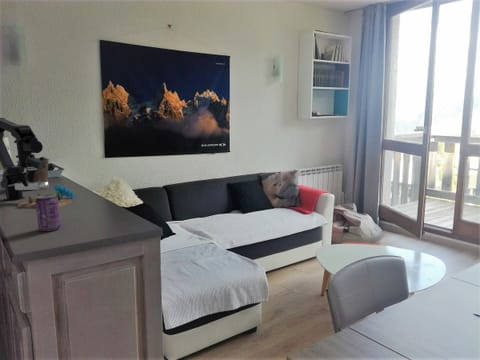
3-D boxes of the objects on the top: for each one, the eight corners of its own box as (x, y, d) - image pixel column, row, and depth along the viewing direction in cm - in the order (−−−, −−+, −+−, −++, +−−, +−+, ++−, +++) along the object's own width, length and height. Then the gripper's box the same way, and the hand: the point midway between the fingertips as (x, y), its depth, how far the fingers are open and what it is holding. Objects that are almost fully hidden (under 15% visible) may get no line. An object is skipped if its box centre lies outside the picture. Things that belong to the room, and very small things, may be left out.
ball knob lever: (14, 190, 186) (13, 183, 186) (21, 188, 191) (20, 182, 190) (45, 189, 184) (44, 183, 183) (51, 187, 188) (50, 181, 188)
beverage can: (43, 227, 143) (39, 194, 141) (64, 226, 143) (60, 193, 141) (35, 233, 136) (30, 198, 134) (56, 231, 136) (52, 197, 134)
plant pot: (58, 186, 227) (55, 158, 224) (30, 192, 214) (27, 162, 211) (41, 184, 236) (38, 157, 233) (14, 189, 222) (10, 161, 219)
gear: (79, 195, 190) (62, 183, 184) (72, 205, 187) (55, 193, 181) (67, 196, 197) (50, 184, 191) (60, 206, 194) (43, 194, 188)
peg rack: (18, 207, 176) (16, 197, 176) (33, 202, 186) (32, 193, 185) (58, 207, 173) (57, 197, 172) (72, 202, 182) (71, 192, 182)
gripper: (25, 154, 174) (30, 189, 177) (52, 150, 192) (56, 182, 195) (3, 155, 176) (8, 189, 179) (32, 150, 194) (36, 182, 197)
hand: (29, 185), depth 187 cm, fingers closed on ball knob lever, 3 cm apart
